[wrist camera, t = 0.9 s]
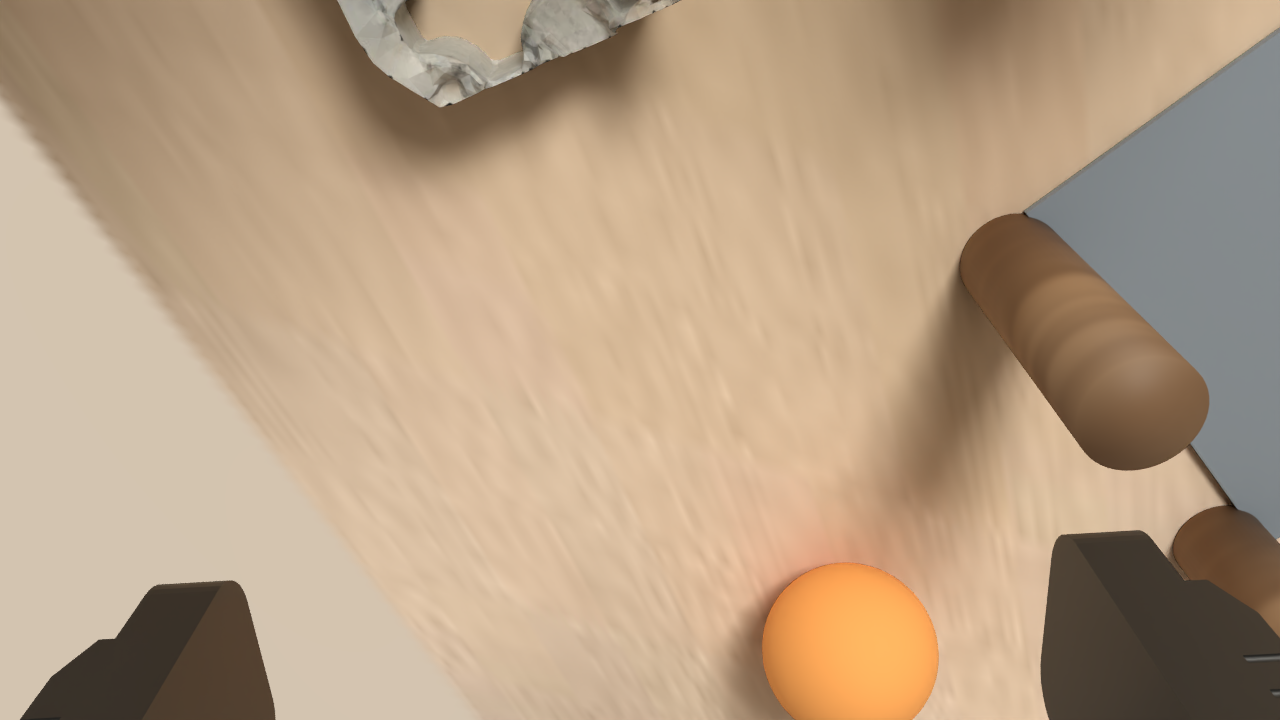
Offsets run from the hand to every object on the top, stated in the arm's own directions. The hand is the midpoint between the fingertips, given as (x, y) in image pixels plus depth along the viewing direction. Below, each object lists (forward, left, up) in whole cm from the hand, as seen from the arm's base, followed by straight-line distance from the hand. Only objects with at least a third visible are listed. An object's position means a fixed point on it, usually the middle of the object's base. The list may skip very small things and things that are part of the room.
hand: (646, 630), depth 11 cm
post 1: (+9, +5, -18) cm, 21 cm away
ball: (+15, -5, -15) cm, 22 cm away
